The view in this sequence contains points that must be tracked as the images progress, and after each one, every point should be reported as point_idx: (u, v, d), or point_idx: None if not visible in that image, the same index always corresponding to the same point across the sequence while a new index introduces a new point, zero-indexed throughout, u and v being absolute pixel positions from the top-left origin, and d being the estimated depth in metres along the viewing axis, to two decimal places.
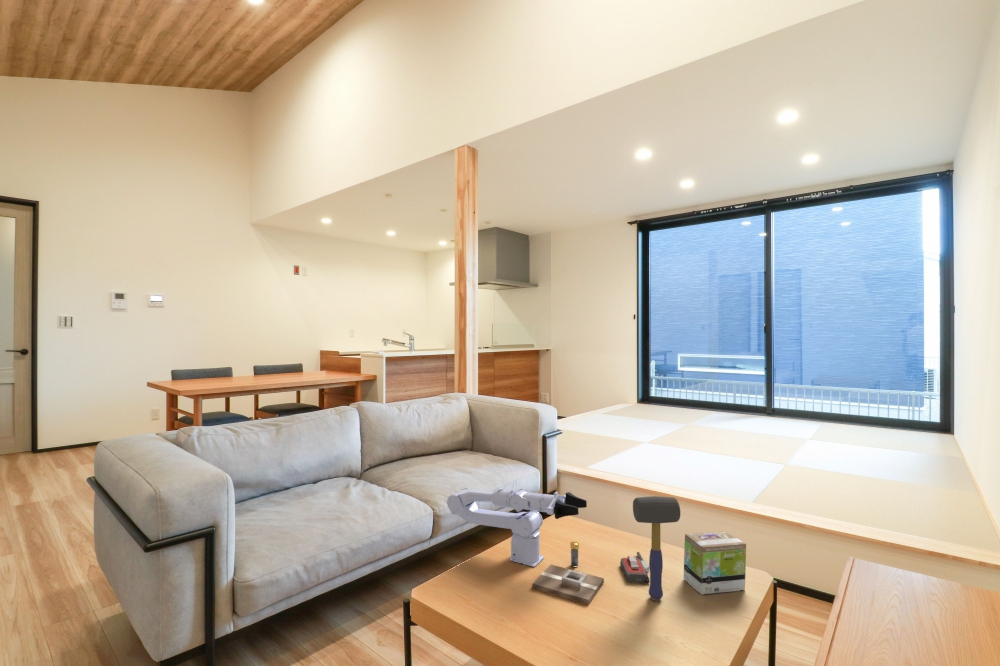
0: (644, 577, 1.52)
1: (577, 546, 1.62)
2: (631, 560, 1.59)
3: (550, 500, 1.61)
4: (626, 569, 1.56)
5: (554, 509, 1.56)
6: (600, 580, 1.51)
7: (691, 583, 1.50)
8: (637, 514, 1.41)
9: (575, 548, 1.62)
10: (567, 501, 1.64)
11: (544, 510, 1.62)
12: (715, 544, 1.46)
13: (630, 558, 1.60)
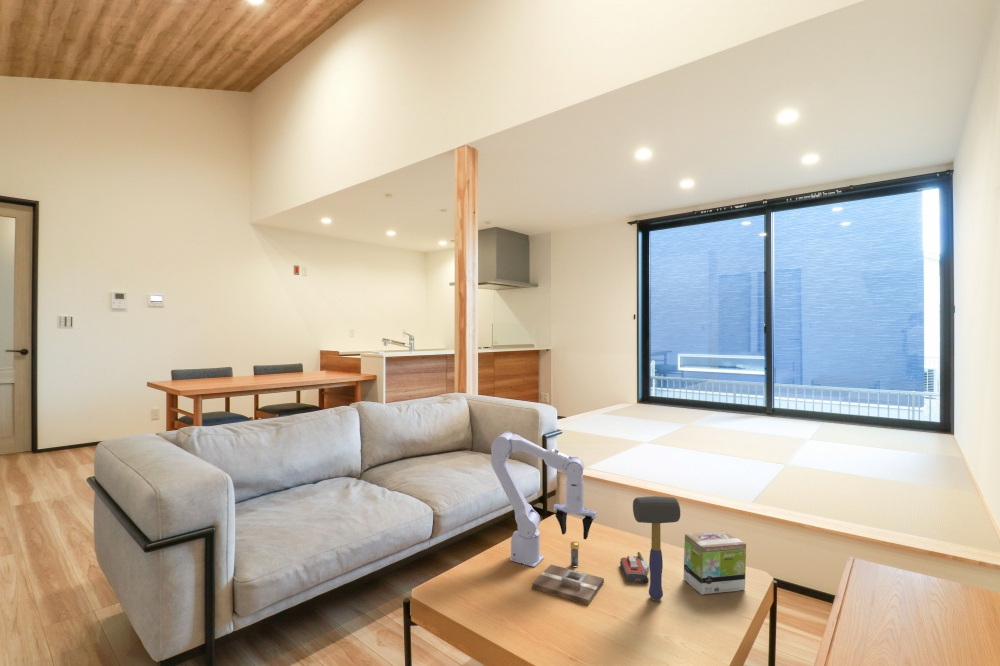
0: (643, 577, 1.52)
1: (577, 546, 1.62)
2: (631, 560, 1.59)
3: None
4: (625, 569, 1.56)
5: None
6: (600, 580, 1.51)
7: (691, 583, 1.50)
8: (637, 514, 1.41)
9: (575, 548, 1.62)
10: (564, 513, 1.65)
11: (579, 501, 1.60)
12: (715, 544, 1.46)
13: (630, 558, 1.60)
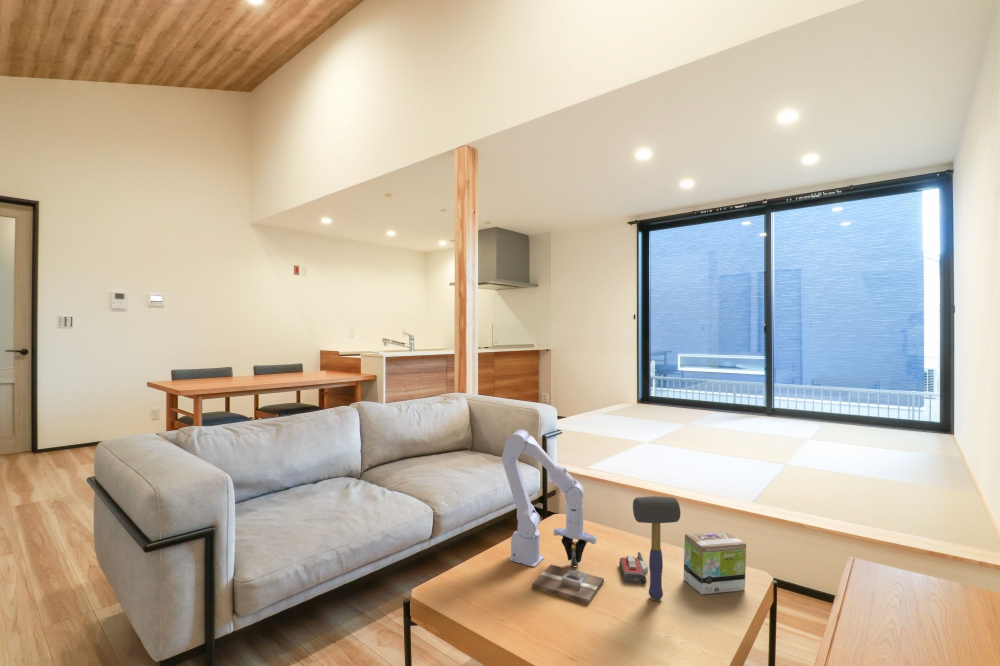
0: (641, 577, 1.52)
1: None
2: (629, 560, 1.59)
3: None
4: (624, 569, 1.56)
5: None
6: (600, 580, 1.51)
7: (691, 583, 1.50)
8: (637, 514, 1.41)
9: (575, 548, 1.62)
10: (570, 539, 1.64)
11: (579, 526, 1.60)
12: (715, 544, 1.46)
13: (629, 558, 1.60)
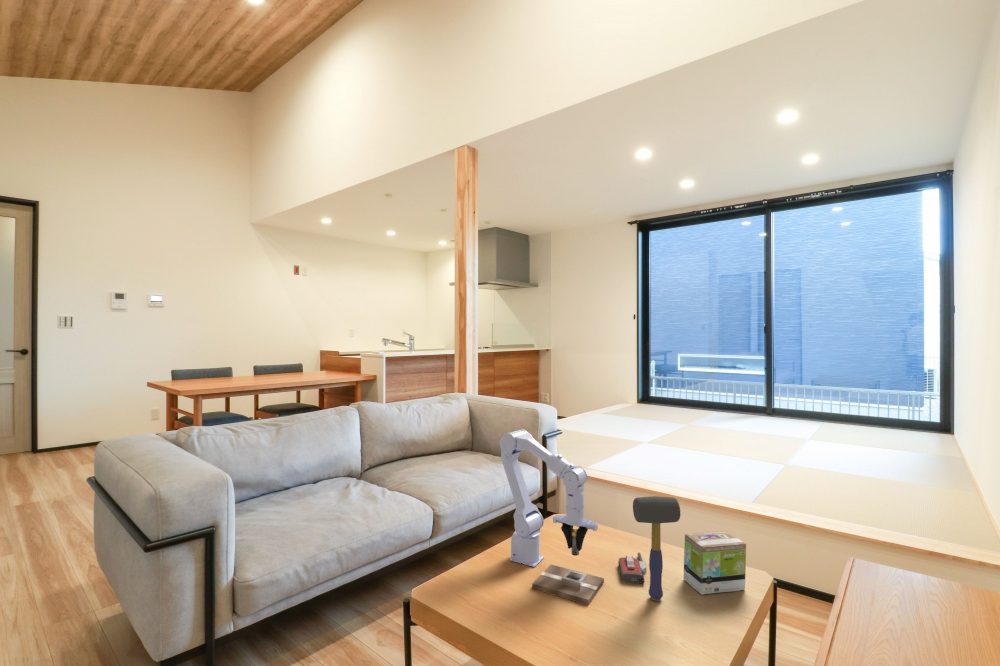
0: (639, 577, 1.52)
1: None
2: (628, 560, 1.59)
3: None
4: (622, 568, 1.56)
5: (587, 528, 1.55)
6: (600, 580, 1.51)
7: (691, 583, 1.50)
8: (637, 514, 1.41)
9: (576, 536, 1.55)
10: (570, 526, 1.57)
11: (579, 512, 1.53)
12: (715, 544, 1.46)
13: (627, 558, 1.60)
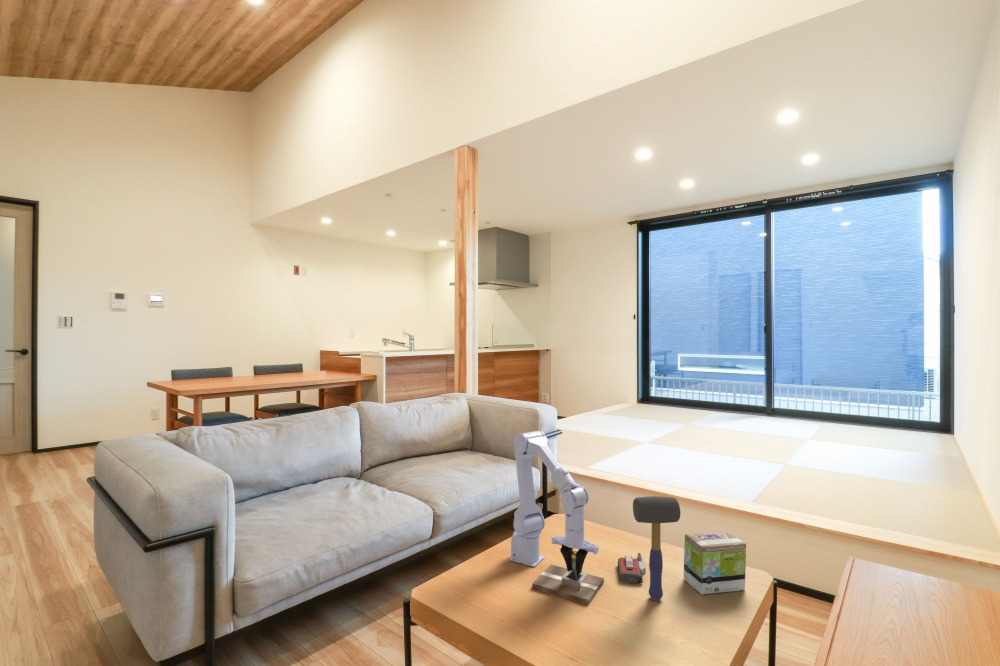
0: (637, 577, 1.52)
1: None
2: (627, 560, 1.59)
3: None
4: (621, 568, 1.56)
5: (587, 551, 1.48)
6: (600, 580, 1.51)
7: (691, 583, 1.50)
8: (637, 514, 1.41)
9: (575, 558, 1.48)
10: (570, 548, 1.50)
11: (579, 534, 1.47)
12: (715, 544, 1.46)
13: (626, 558, 1.60)
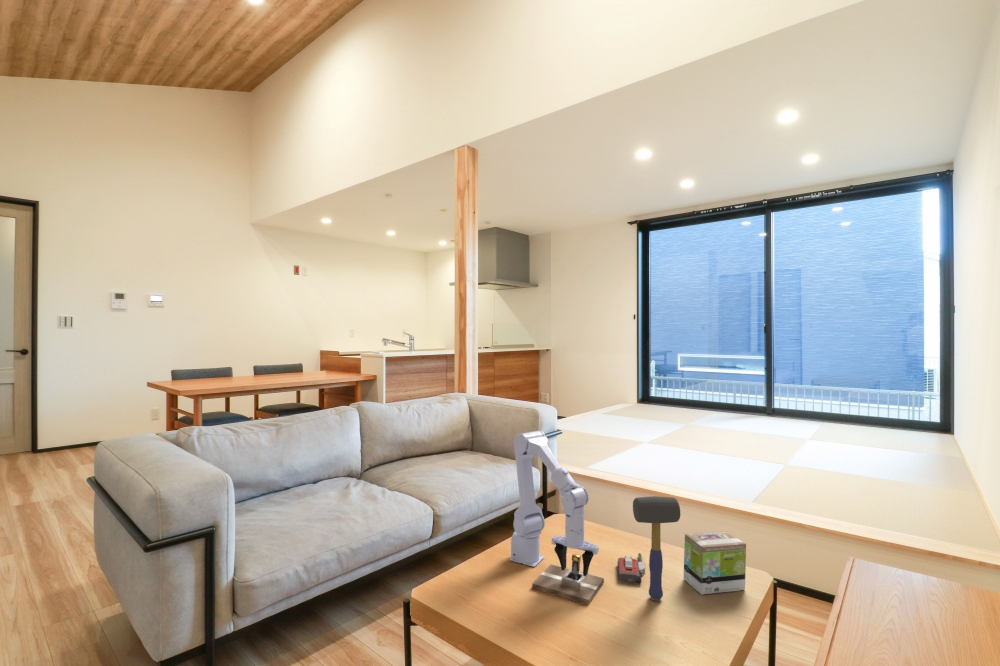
0: (636, 578, 1.52)
1: (579, 558, 1.50)
2: (626, 560, 1.58)
3: None
4: (620, 568, 1.56)
5: None
6: (600, 580, 1.51)
7: (691, 583, 1.50)
8: (637, 514, 1.41)
9: (577, 560, 1.49)
10: (564, 547, 1.51)
11: (579, 534, 1.47)
12: (715, 544, 1.46)
13: (626, 558, 1.60)
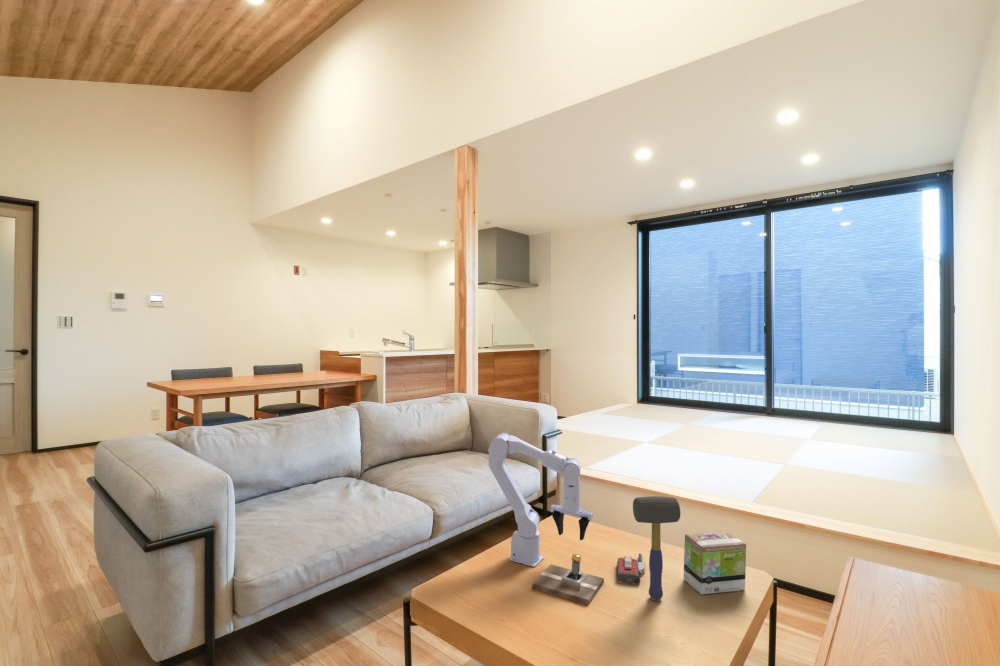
0: (635, 578, 1.52)
1: (579, 558, 1.50)
2: (626, 560, 1.58)
3: None
4: (619, 568, 1.56)
5: None
6: (600, 580, 1.51)
7: (691, 583, 1.50)
8: (637, 514, 1.41)
9: (577, 560, 1.49)
10: (561, 514, 1.66)
11: (575, 502, 1.61)
12: (715, 544, 1.46)
13: (626, 558, 1.60)
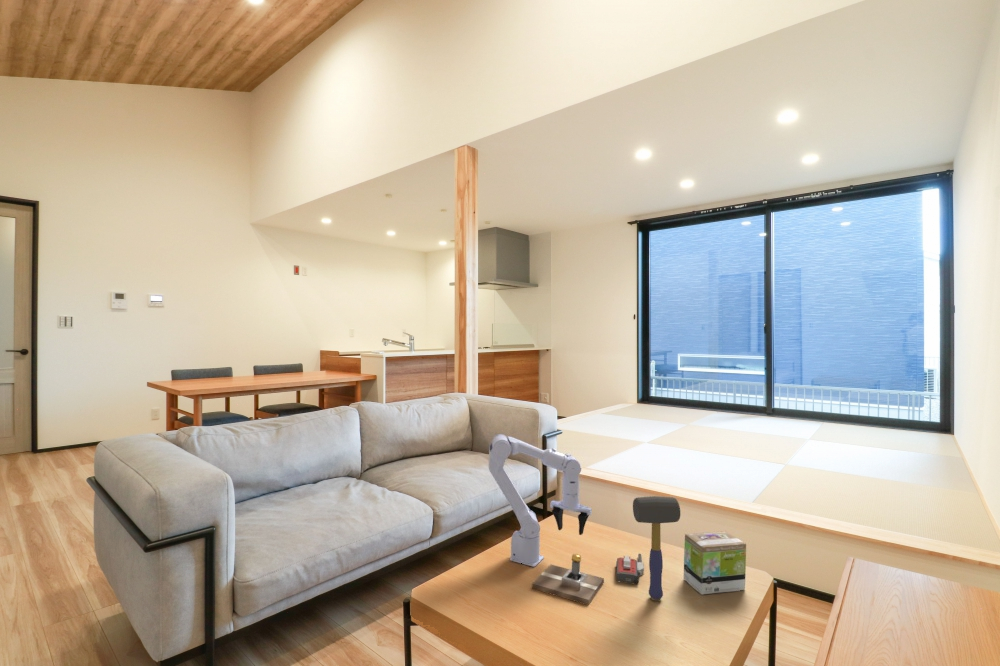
0: (633, 578, 1.52)
1: (579, 558, 1.50)
2: (625, 560, 1.58)
3: None
4: (618, 568, 1.56)
5: None
6: (600, 580, 1.51)
7: (691, 583, 1.50)
8: (637, 514, 1.41)
9: (577, 560, 1.49)
10: (560, 510, 1.70)
11: (575, 498, 1.65)
12: (715, 544, 1.46)
13: (625, 558, 1.60)
